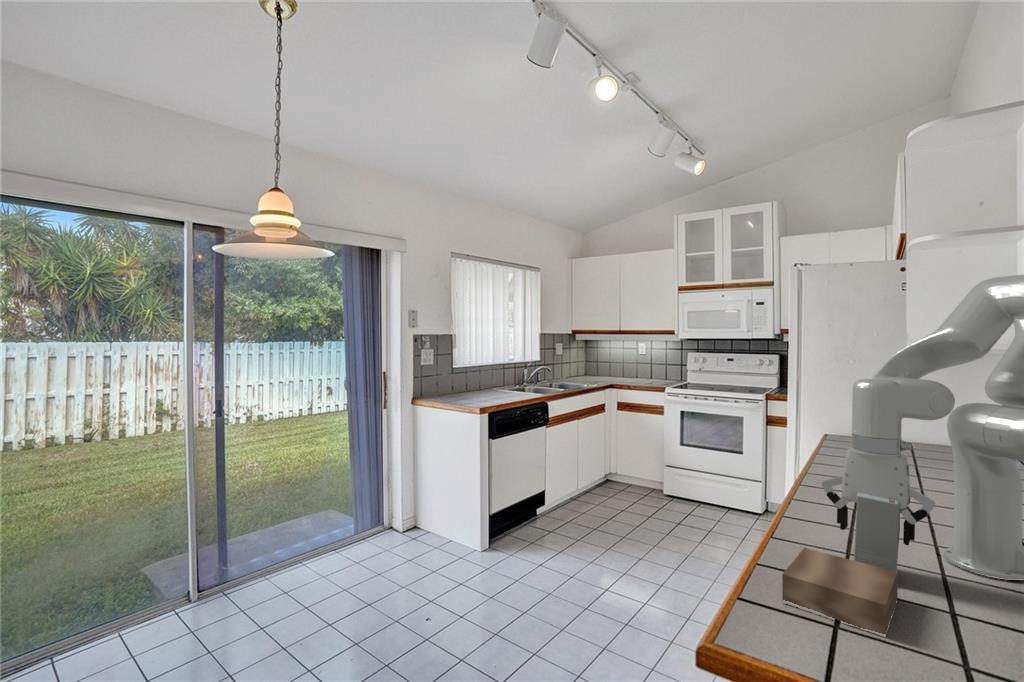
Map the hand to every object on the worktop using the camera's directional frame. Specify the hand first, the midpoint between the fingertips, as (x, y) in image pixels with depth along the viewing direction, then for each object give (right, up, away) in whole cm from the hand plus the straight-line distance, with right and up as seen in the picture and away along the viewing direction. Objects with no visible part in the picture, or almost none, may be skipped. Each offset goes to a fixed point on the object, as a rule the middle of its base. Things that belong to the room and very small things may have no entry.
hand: (874, 535), depth 93 cm
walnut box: (-13, -8, -9) cm, 18 cm away
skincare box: (+1, -8, 0) cm, 8 cm away
